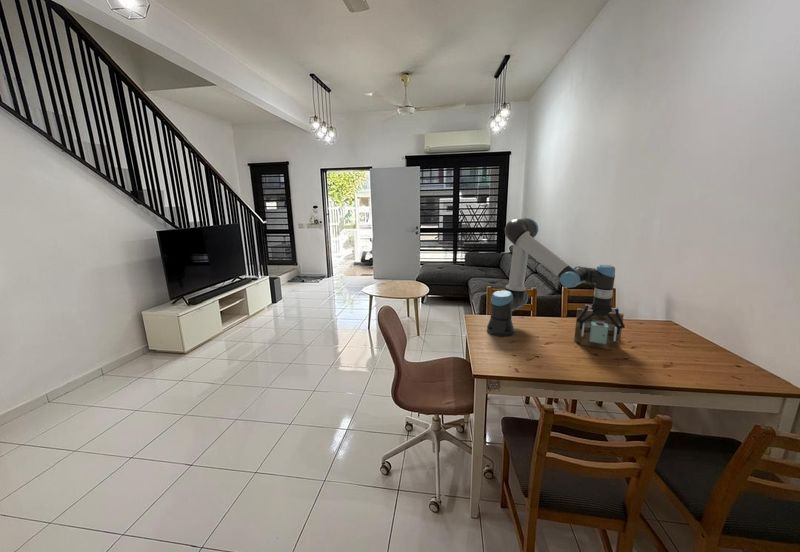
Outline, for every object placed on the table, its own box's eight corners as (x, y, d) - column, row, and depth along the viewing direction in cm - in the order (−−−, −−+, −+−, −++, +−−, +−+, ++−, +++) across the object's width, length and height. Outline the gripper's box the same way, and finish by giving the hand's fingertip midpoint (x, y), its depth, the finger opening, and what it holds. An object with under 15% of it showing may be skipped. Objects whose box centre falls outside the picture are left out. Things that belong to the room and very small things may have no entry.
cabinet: (589, 342, 158) (591, 323, 155) (589, 334, 166) (591, 316, 163) (606, 344, 155) (608, 325, 152) (605, 337, 162) (607, 318, 159)
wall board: (574, 343, 167) (577, 311, 163) (574, 337, 174) (577, 306, 170) (619, 350, 158) (624, 316, 154) (618, 344, 165) (622, 311, 161)
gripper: (573, 295, 157) (569, 336, 161) (635, 302, 145) (629, 345, 149) (573, 292, 163) (569, 331, 168) (633, 297, 151) (627, 339, 156)
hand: (597, 337), depth 158 cm, fingers open, 13 cm apart
